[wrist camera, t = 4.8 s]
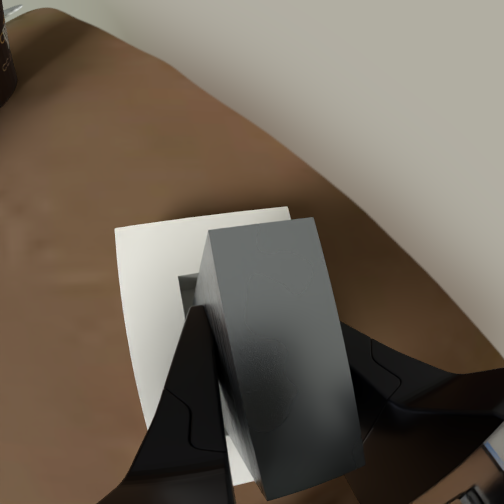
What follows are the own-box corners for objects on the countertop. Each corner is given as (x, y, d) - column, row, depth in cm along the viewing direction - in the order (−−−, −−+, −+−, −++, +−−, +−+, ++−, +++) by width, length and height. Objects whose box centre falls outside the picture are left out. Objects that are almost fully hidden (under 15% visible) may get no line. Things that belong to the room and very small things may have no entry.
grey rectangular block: (254, 397, 14) (365, 464, 5) (213, 405, 14) (267, 501, 4) (233, 296, 15) (313, 217, 6) (192, 303, 15) (208, 229, 5)
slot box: (306, 431, 16) (341, 452, 12) (171, 462, 14) (168, 496, 10) (264, 237, 19) (287, 206, 15) (129, 256, 17) (114, 228, 13)
